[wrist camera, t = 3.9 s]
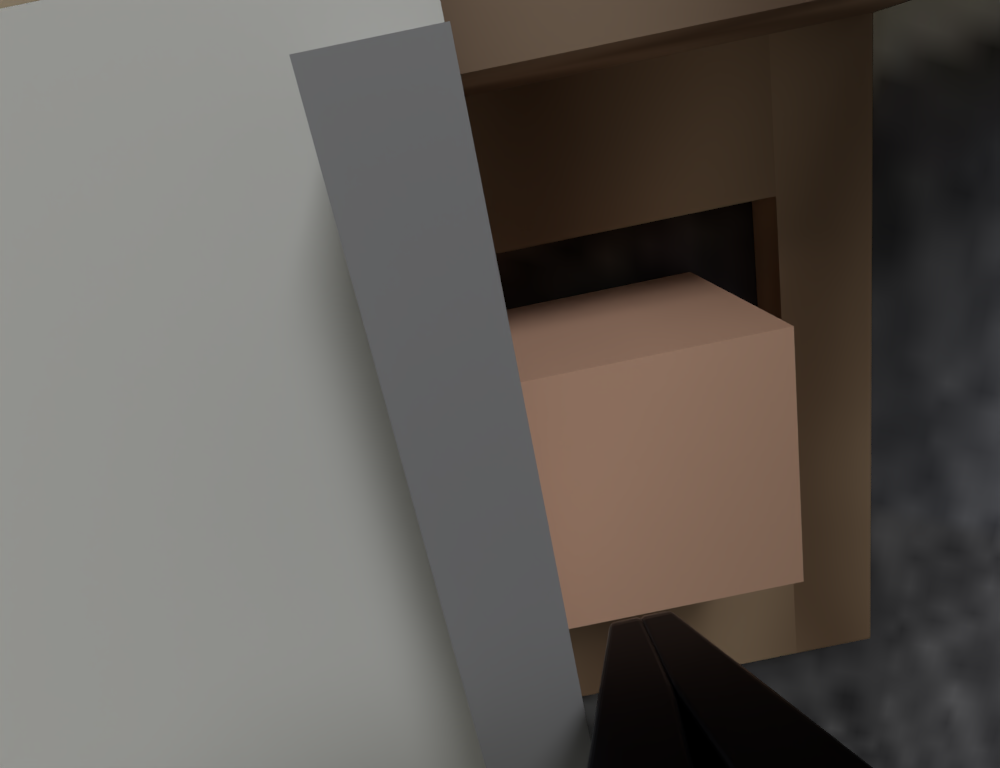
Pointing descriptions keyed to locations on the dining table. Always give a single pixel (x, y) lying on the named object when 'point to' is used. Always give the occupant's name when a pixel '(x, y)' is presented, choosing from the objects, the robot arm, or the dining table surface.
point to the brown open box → (704, 186)
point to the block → (662, 444)
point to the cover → (262, 402)
